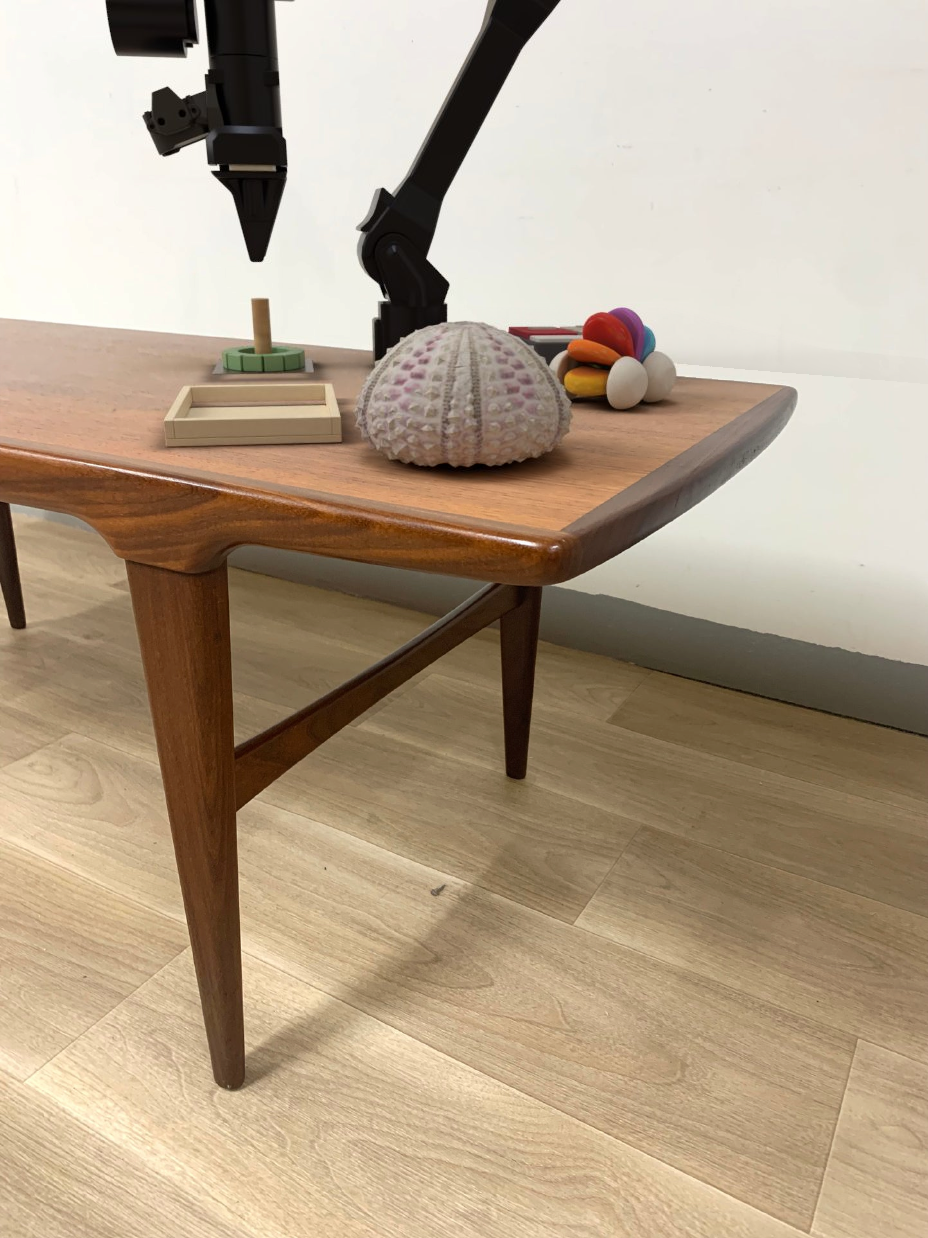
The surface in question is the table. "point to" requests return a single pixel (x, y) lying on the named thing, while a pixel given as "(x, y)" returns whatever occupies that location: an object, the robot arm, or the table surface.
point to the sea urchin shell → (462, 399)
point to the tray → (253, 416)
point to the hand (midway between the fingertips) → (258, 259)
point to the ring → (263, 359)
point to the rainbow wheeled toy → (615, 361)
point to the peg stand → (262, 340)
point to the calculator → (548, 339)
